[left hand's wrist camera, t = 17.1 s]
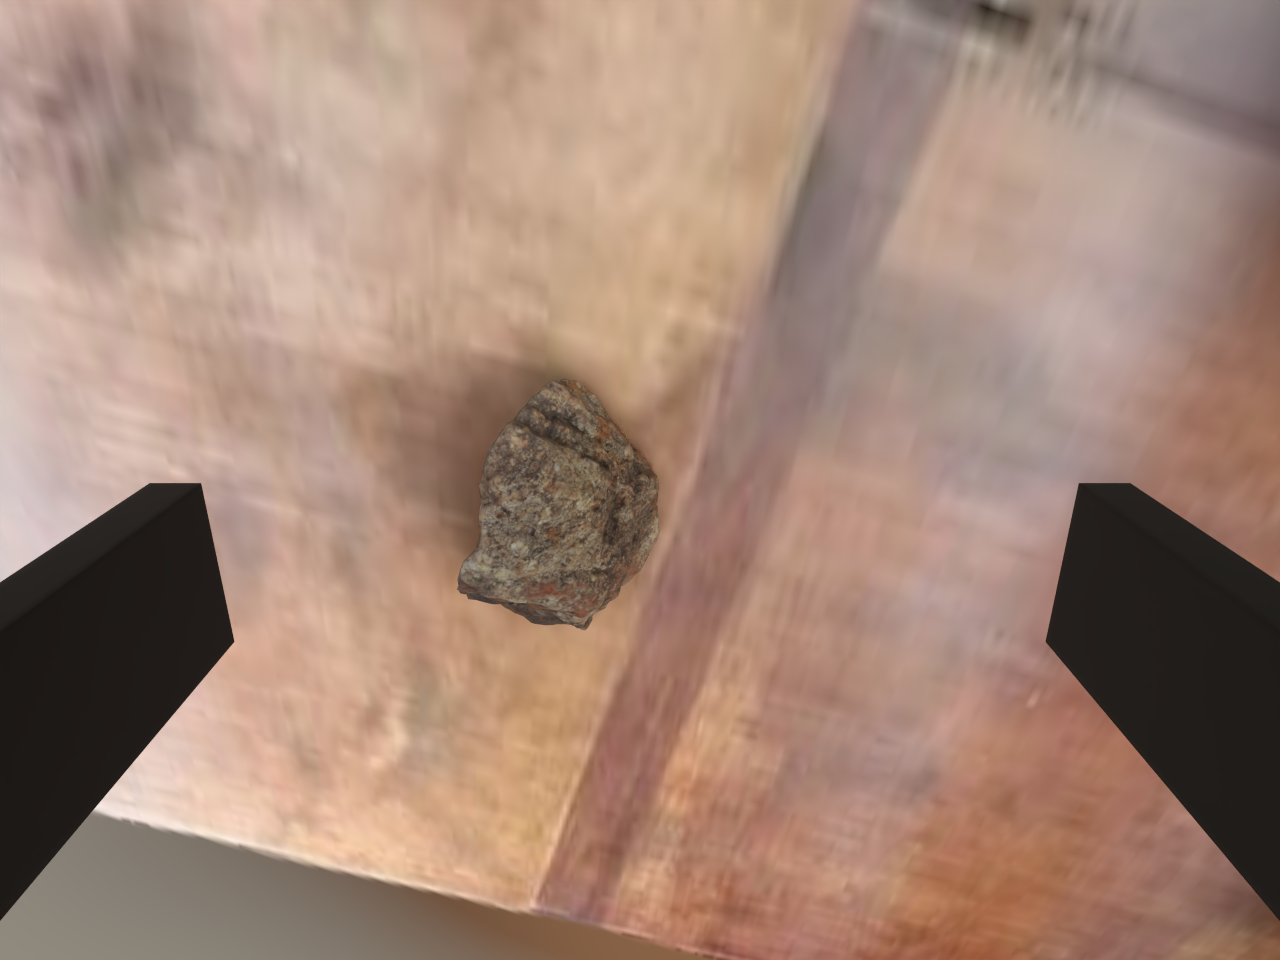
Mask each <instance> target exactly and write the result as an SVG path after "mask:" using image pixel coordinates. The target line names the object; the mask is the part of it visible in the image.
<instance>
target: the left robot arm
mask: <svg viewBox="0 0 1280 960" xmlns="http://www.w3.org/2000/svg"><path fill="white" fill-rule="evenodd" d="M233 643H234V638H233V633H232V628H231V623H230V619H229V614H228V609H227V604H226V600H225V595H224V590H223V585H222V581H221V576H220V571H219V566H218V562H217V557H216V552H215V547H214V543H213V538H212V533H211V528H210V523H209V519H208V514H207V509H206V504H205V500H204V495H203V490H202V485H201V483H149V484H148V485H146V486H145V487H143V488H142V489H140V490H139V491H137V492H136V493H134V494H133V495H131V496H130V497H128V498H127V499H125V500H124V501H122V502H121V503H119V504H118V505H116V506H115V507H113V508H112V509H110V510H109V511H107V512H106V513H104V514H103V515H101V516H100V517H98V518H97V519H95V520H94V521H92V522H91V523H89V524H88V525H86V526H85V527H83V528H82V529H80V530H79V531H77V532H76V533H74V534H73V535H71V536H70V537H68V538H67V539H65V540H64V541H62V542H60V543H59V544H57V545H56V546H54V547H53V548H51V549H50V550H48V551H47V552H45V553H44V554H42V555H41V556H39V557H38V558H36V559H35V560H33V561H32V562H30V563H29V564H27V565H26V566H24V567H23V568H21V569H20V570H18V571H17V572H15V573H14V574H12V575H11V576H9V577H8V578H6V579H5V580H3V581H2V582H0V920H1V919H2V918H3V917H4V916H5V914H6V913H7V912H8V911H9V910H10V908H11V907H12V906H13V905H14V904H15V902H16V901H17V900H18V899H19V898H20V896H21V895H22V894H23V893H24V892H25V890H26V889H27V888H28V887H29V886H30V885H31V883H32V882H33V881H34V880H35V879H36V877H37V876H38V875H39V874H40V873H41V871H42V870H43V869H44V868H45V867H46V865H47V864H48V863H49V862H50V861H51V859H52V858H53V857H54V856H55V855H56V854H57V852H58V851H59V850H60V849H61V848H62V846H63V845H64V844H65V843H66V842H67V840H68V839H69V838H70V837H71V836H72V835H73V833H74V832H75V831H76V830H77V829H78V827H79V826H80V825H81V824H82V823H83V821H84V820H85V819H86V818H87V817H88V815H89V814H90V813H91V812H92V811H93V810H94V808H95V807H96V806H97V805H98V804H99V802H100V801H101V800H102V799H103V798H104V796H105V795H106V794H107V793H108V792H109V790H110V789H111V788H112V787H113V786H114V784H115V783H116V782H117V781H118V780H119V779H120V777H121V776H122V775H123V774H124V773H125V771H126V770H127V769H128V768H129V767H130V765H131V764H132V763H133V762H134V761H135V759H136V758H137V757H138V756H139V755H140V754H141V752H142V751H143V750H144V749H145V748H146V746H147V745H148V744H149V743H150V742H151V740H152V739H153V738H154V737H155V736H156V734H157V733H158V732H159V731H160V730H161V728H162V727H163V726H164V725H165V724H166V723H167V721H168V720H169V719H170V718H171V717H172V715H173V714H174V713H175V712H176V711H177V709H178V708H179V707H180V706H181V705H182V703H183V702H184V701H185V700H186V699H187V697H188V696H189V695H190V694H191V693H192V692H193V690H194V689H195V688H196V687H197V686H198V684H199V683H200V682H201V681H202V680H203V678H204V677H205V676H206V675H207V674H208V672H209V671H210V670H211V669H212V668H213V667H214V665H215V664H216V663H217V662H218V661H219V659H220V658H221V657H222V656H223V655H224V653H225V652H226V651H227V650H228V649H229V647H230V646H231V645H232V644H233ZM1046 643H1047V644H1048V645H1049V646H1050V647H1051V649H1052V650H1053V651H1054V652H1055V653H1056V655H1057V656H1058V657H1059V658H1060V659H1061V661H1062V662H1063V663H1064V664H1065V665H1066V667H1067V668H1068V669H1069V670H1070V671H1071V672H1072V674H1073V675H1074V676H1075V677H1076V678H1077V680H1078V681H1079V682H1080V683H1081V684H1082V686H1083V687H1084V688H1085V689H1086V690H1087V692H1088V693H1089V694H1090V695H1091V696H1092V697H1093V699H1094V700H1095V701H1096V702H1097V703H1098V705H1099V706H1100V707H1101V708H1102V709H1103V711H1104V712H1105V713H1106V714H1107V715H1108V717H1109V718H1110V719H1111V720H1112V721H1113V723H1114V724H1115V725H1116V726H1117V727H1118V728H1119V730H1120V731H1121V732H1122V733H1123V734H1124V736H1125V737H1126V738H1127V739H1128V740H1129V742H1130V743H1131V744H1132V745H1133V746H1134V748H1135V749H1136V750H1137V751H1138V752H1139V754H1140V755H1141V756H1142V757H1143V758H1144V759H1145V761H1146V762H1147V763H1148V764H1149V765H1150V767H1151V768H1152V769H1153V770H1154V771H1155V773H1156V774H1157V775H1158V776H1159V777H1160V779H1161V780H1162V781H1163V782H1164V783H1165V784H1166V786H1167V787H1168V788H1169V789H1170V790H1171V792H1172V793H1173V794H1174V795H1175V796H1176V798H1177V799H1178V800H1179V801H1180V802H1181V804H1182V805H1183V806H1184V807H1185V808H1186V810H1187V811H1188V812H1189V813H1190V814H1191V815H1192V817H1193V818H1194V819H1195V820H1196V821H1197V823H1198V824H1199V825H1200V826H1201V827H1202V829H1203V830H1204V831H1205V832H1206V833H1207V835H1208V836H1209V837H1210V838H1211V839H1212V840H1213V842H1214V843H1215V844H1216V845H1217V846H1218V848H1219V849H1220V850H1221V851H1222V852H1223V854H1224V855H1225V856H1226V857H1227V858H1228V860H1229V861H1230V862H1231V863H1232V864H1233V866H1234V867H1235V868H1236V869H1237V870H1238V871H1239V873H1240V874H1241V875H1242V876H1243V877H1244V879H1245V880H1246V881H1247V882H1248V883H1249V885H1250V886H1251V887H1252V888H1253V889H1254V891H1255V892H1256V893H1257V894H1258V895H1259V897H1260V898H1261V899H1262V900H1263V901H1264V902H1265V904H1266V905H1267V906H1268V907H1269V908H1270V910H1271V911H1272V912H1273V913H1274V914H1275V916H1276V917H1277V918H1278V919H1279V920H1280V582H1278V581H1277V580H1275V579H1274V578H1272V577H1271V576H1269V575H1268V574H1266V573H1265V572H1263V571H1262V570H1260V569H1259V568H1257V567H1256V566H1254V565H1253V564H1251V563H1250V562H1248V561H1247V560H1245V559H1244V558H1242V557H1241V556H1239V555H1238V554H1236V553H1235V552H1233V551H1232V550H1230V549H1229V548H1227V547H1226V546H1224V545H1223V544H1221V543H1220V542H1218V541H1216V540H1215V539H1213V538H1212V537H1210V536H1209V535H1207V534H1206V533H1204V532H1203V531H1201V530H1200V529H1198V528H1197V527H1195V526H1194V525H1192V524H1191V523H1189V522H1188V521H1186V520H1185V519H1183V518H1182V517H1180V516H1179V515H1177V514H1176V513H1174V512H1173V511H1171V510H1170V509H1168V508H1167V507H1165V506H1164V505H1162V504H1161V503H1159V502H1158V501H1156V500H1155V499H1153V498H1152V497H1150V496H1149V495H1147V494H1146V493H1144V492H1143V491H1141V490H1140V489H1138V488H1137V487H1135V486H1134V485H1132V484H1131V483H1079V485H1078V490H1077V495H1076V500H1075V504H1074V509H1073V514H1072V519H1071V523H1070V528H1069V533H1068V538H1067V543H1066V547H1065V552H1064V557H1063V562H1062V566H1061V571H1060V576H1059V581H1058V585H1057V590H1056V595H1055V600H1054V604H1053V609H1052V614H1051V619H1050V623H1049V628H1048V633H1047V638H1046Z"/></svg>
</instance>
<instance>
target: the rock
mask: <svg viewBox="0 0 1280 960" xmlns="http://www.w3.org/2000/svg"><path fill="white" fill-rule="evenodd" d="M479 489H480V496H481V499H482V500H481V506H480V511H479V526H480V530H481V533H480V537H479V540H478V544H477V548H476V549H475V550H474V551H473V552H472V553H471V554H470V555H469V556H468V558H467V559H465V560H464V562H463V564H462V567H461V569H460V573H459V576H458V584H459V586H458V588H457V590H459V592H460V593H462V594H467V597H468V599H473V600H478V601H482V602H486V603H490V604H502V605H503V606H504V607H505V608H507V609H509V610H511V611H512V612H514V613H516V614H519V615H522V616H524V617H525V618H526V619H528V620H529V621H530V622H531V623H534V624H541V625H555V624H571V625H573V626H575V627H577V628H580V629H582V630H586V629H587V628H588V626H589V625H590V623H591V621H592V616H593V615H594V614H595V613H597V612H599V611H600V610H602V609H604V608H605V607H606V606H607V604H608V602H609V601H611V600H613V599H615V598H616V597H617V596H618V594H619V592H620V587H621V586H623V585H625V584H626V583H627V582H628V581H630V580H631V579H632V577H633V576H634V575H635V574H637V573H638V572H639V571H640V570H641V568H642V567H643V565H644V563H645V561H646V560H647V558H648V555H649V552H650V549H651V548H652V547H653V546H654V544H655V543H656V541H657V539H658V535H659V527H658V523H659V518H658V509H657V498H658V490H659V483H658V477H657V475H656V474H655V473H654V472H653V471H652V469H651V466H650V464H648V463H647V461H646V460H645V458H644V457H643V456H642V455H641V454H640V453H639V452H638V451H637V450H635V449H632V447H631V446H630V444H629V443H628V441H627V439H626V437H625V435H624V434H623V433H622V432H621V430H620V429H619V427H618V426H617V425H616V424H615V423H614V422H613V421H612V420H611V419H610V418H609V416H608V414H607V413H606V411H605V409H604V408H603V406H602V405H601V404H600V402H599V400H598V398H597V397H596V396H595V395H594V394H592V393H590V392H588V391H587V390H586V389H585V388H584V387H583V386H582V385H581V384H580V383H578V382H576V381H569V380H561V381H560V382H559V381H555V380H552V381H551V382H549V383H548V384H546V385H545V386H544V387H543V388H542V389H541V390H540V391H539V392H538V393H537V395H535V396H532V397H531V398H530V400H529V402H528V403H527V405H526V406H525V407H524V408H522V409H521V410H520V411H519V413H518V414H517V416H516V417H515V419H514V420H513V421H512V422H511V423H508V424H507V426H506V427H505V428H504V429H503V431H502V432H501V433H500V435H499V436H498V437H497V439H496V441H495V442H494V443H493V444H492V446H491V447H490V449H489V451H488V454H487V457H486V460H485V463H484V466H483V474H482V480H481V482H480V485H479Z"/></svg>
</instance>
